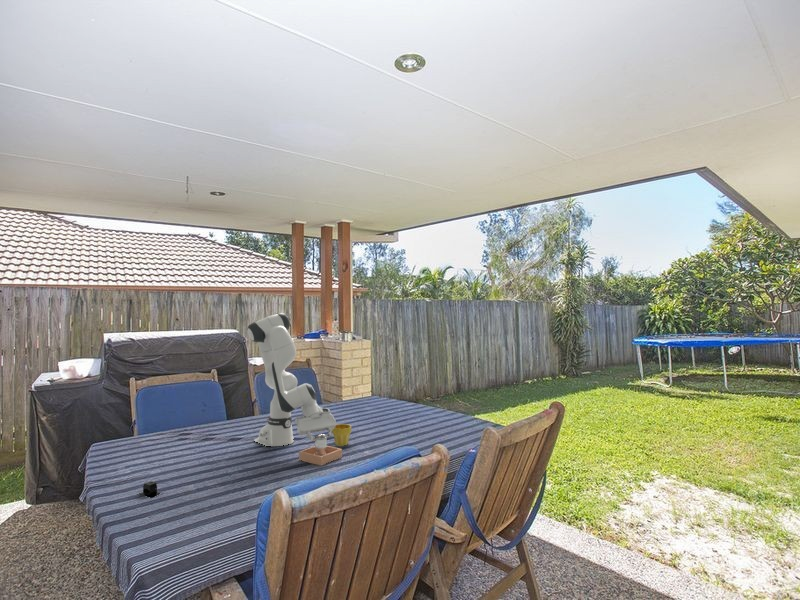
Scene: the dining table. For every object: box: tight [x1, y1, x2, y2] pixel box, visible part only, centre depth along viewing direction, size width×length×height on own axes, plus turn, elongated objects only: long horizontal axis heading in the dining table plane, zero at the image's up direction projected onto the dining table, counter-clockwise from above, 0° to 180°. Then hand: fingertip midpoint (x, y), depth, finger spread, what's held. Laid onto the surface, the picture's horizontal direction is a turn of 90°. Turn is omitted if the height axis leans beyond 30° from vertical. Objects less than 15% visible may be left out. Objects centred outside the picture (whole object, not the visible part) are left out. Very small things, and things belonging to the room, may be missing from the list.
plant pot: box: [331, 423, 352, 447], centre depth 237 cm, size 10×10×10 cm
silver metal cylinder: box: [314, 433, 328, 456], centre depth 214 cm, size 6×6×11 cm
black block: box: [138, 480, 162, 499], centre depth 171 cm, size 12×7×5 cm, turn 65°
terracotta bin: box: [298, 445, 343, 466], centre depth 214 cm, size 15×15×4 cm
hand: (321, 438), depth 216 cm, fingers open, 8 cm apart
